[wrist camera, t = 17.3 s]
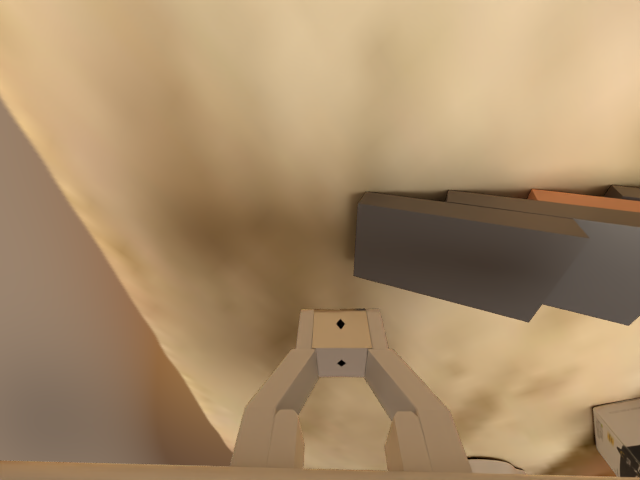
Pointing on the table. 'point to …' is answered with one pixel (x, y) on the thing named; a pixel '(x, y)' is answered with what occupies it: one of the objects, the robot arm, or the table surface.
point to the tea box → (619, 436)
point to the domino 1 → (465, 252)
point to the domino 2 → (587, 256)
